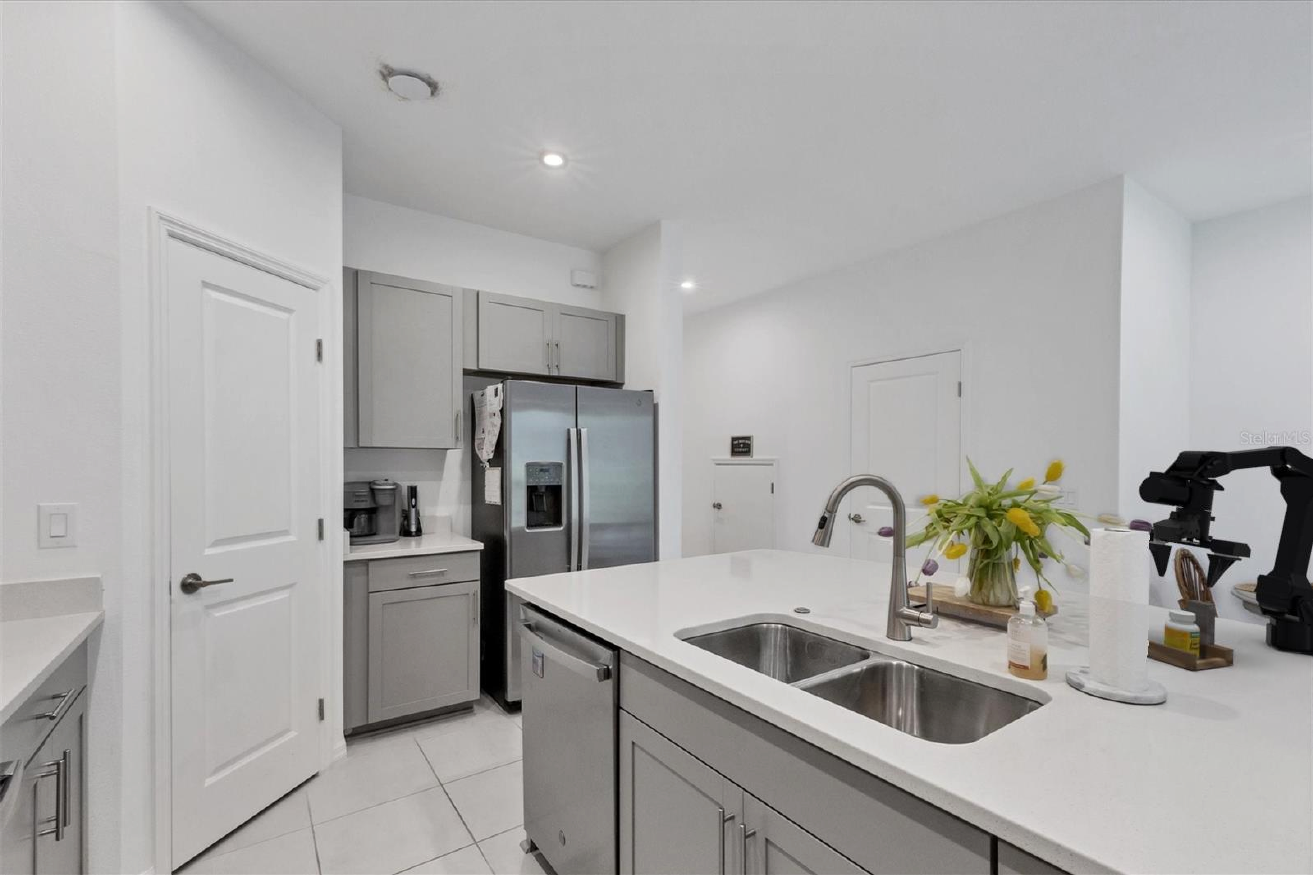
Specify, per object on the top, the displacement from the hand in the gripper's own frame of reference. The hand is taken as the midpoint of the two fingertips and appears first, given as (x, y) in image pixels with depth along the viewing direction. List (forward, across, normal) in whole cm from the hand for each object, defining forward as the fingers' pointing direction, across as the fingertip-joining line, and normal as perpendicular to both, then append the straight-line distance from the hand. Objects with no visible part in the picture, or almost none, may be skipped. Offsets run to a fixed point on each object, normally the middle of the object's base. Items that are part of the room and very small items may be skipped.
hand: (1184, 581), depth 130 cm
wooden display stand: (+15, +5, -6) cm, 17 cm away
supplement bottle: (+15, +6, -7) cm, 18 cm away
